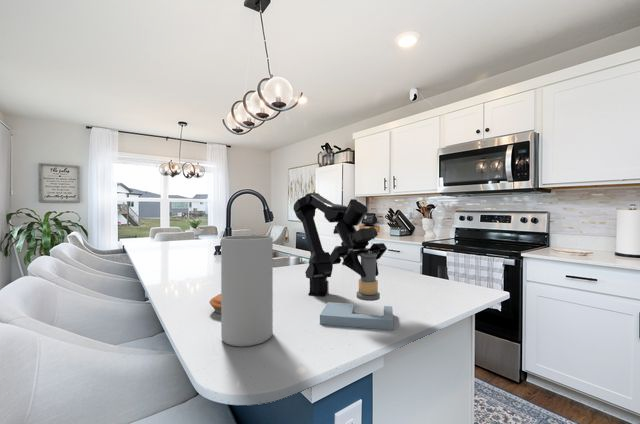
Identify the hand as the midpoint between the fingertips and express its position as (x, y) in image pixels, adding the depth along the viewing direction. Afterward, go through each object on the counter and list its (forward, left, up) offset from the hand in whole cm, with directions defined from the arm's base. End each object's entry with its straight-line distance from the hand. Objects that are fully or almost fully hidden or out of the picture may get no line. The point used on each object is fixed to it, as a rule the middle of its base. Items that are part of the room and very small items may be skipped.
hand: (371, 276), depth 87 cm
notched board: (-4, -1, -13) cm, 13 cm away
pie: (-43, -1, -13) cm, 45 cm away
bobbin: (-1, +1, -7) cm, 7 cm away
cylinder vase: (-30, -19, -13) cm, 38 cm away
